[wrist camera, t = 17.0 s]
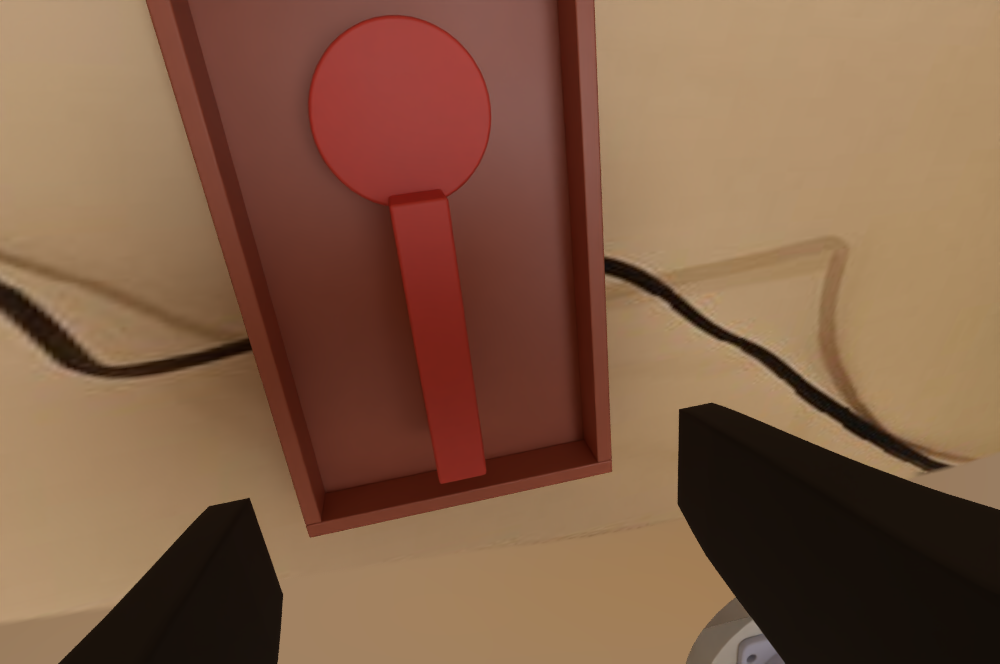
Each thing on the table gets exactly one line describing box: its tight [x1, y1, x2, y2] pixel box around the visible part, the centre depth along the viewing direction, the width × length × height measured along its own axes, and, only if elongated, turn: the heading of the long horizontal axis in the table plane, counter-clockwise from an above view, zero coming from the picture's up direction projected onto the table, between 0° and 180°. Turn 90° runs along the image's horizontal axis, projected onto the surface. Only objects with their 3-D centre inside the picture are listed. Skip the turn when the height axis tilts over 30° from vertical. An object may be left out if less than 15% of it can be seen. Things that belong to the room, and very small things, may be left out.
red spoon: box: [308, 15, 491, 484], centre depth 16 cm, size 12×4×3 cm, turn 6°
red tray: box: [146, 0, 612, 537], centre depth 17 cm, size 16×10×2 cm, turn 6°
